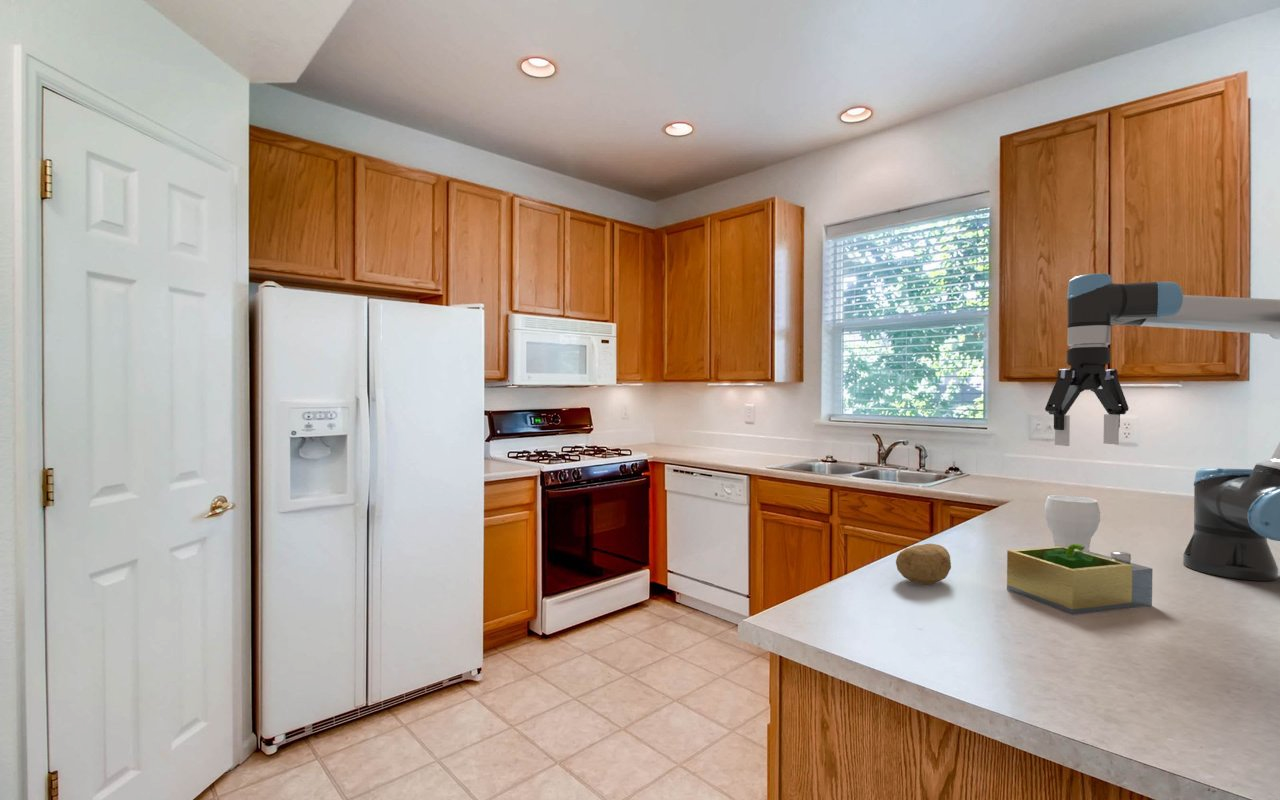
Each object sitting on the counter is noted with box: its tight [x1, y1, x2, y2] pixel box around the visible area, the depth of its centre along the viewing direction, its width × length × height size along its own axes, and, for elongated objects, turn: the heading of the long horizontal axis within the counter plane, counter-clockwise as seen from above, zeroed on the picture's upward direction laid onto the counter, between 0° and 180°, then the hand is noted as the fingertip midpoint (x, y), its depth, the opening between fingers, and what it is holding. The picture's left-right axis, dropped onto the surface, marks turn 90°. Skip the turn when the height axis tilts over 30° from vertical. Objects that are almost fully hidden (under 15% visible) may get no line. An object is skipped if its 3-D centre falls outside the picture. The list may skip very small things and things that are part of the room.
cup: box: [1044, 494, 1101, 552], centre depth 140 cm, size 11×11×15 cm
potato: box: [895, 543, 952, 586], centre depth 125 cm, size 10×14×8 cm
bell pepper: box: [1043, 544, 1097, 569], centre depth 116 cm, size 8×8×10 cm
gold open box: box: [1006, 546, 1153, 615], centre depth 116 cm, size 19×14×9 cm
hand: (1086, 444), depth 129 cm, fingers open, 13 cm apart
